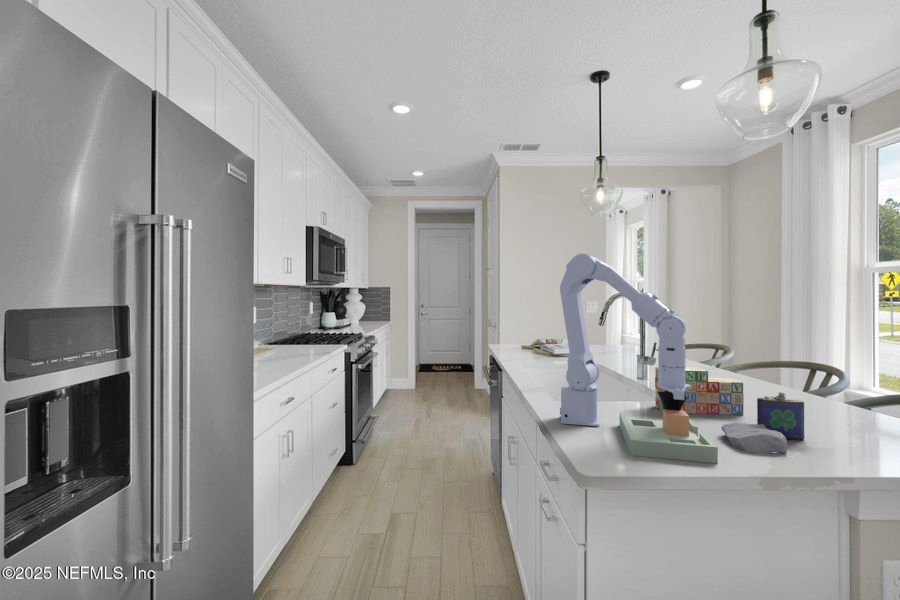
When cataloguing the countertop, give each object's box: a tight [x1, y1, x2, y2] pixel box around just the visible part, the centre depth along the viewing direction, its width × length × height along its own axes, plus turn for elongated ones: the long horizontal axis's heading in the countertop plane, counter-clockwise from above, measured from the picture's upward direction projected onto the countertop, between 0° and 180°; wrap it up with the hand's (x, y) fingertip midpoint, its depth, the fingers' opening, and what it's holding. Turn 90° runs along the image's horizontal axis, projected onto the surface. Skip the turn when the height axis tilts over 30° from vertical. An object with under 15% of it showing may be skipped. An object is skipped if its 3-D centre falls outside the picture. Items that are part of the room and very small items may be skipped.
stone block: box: [721, 421, 788, 454], centre depth 95 cm, size 12×5×10 cm
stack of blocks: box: [654, 366, 745, 416], centre depth 122 cm, size 21×6×12 cm, turn 79°
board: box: [619, 412, 719, 464], centre depth 96 cm, size 16×21×3 cm
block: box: [662, 409, 690, 436], centre depth 97 cm, size 4×4×4 cm
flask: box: [756, 391, 806, 441], centre depth 99 cm, size 9×3×11 cm, turn 72°
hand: (671, 422), depth 100 cm, fingers closed
